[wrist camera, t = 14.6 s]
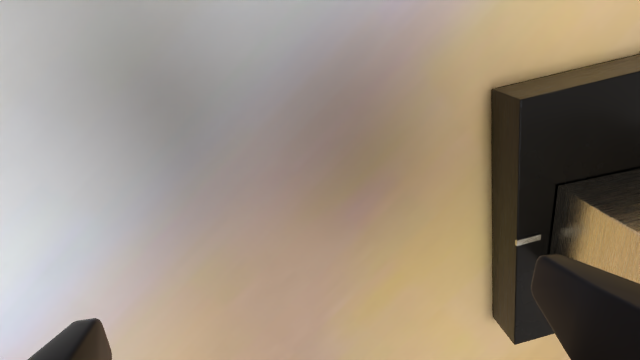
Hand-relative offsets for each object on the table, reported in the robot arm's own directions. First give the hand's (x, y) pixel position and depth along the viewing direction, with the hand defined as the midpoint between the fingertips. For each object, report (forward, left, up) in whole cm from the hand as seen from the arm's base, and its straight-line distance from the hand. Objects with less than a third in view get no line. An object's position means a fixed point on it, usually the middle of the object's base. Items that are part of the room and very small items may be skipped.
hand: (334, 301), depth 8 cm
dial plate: (+6, +19, -13) cm, 24 cm away
